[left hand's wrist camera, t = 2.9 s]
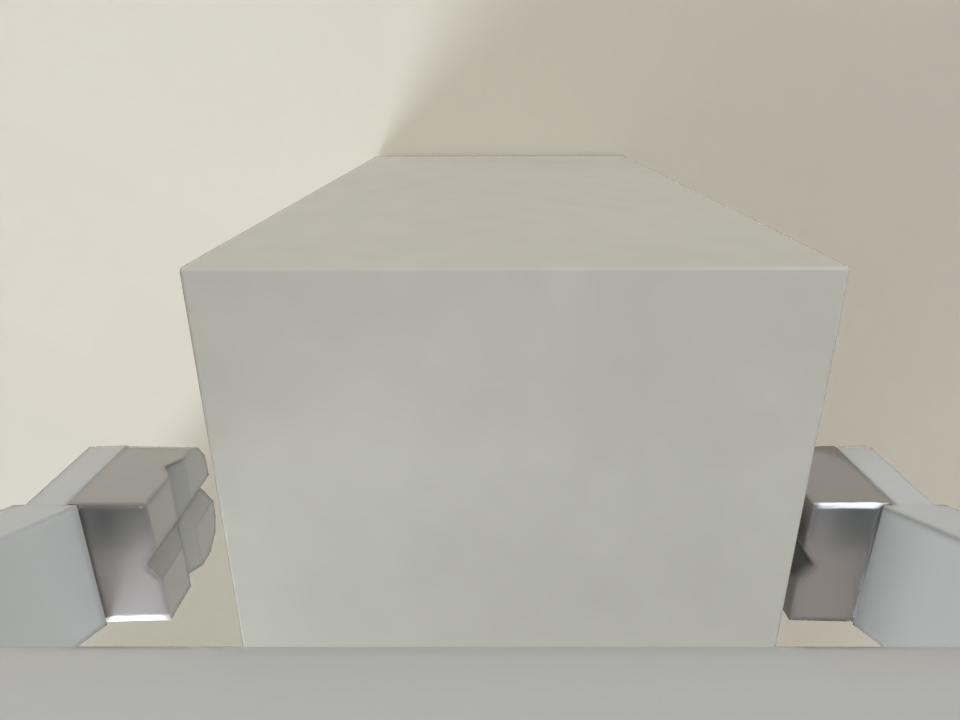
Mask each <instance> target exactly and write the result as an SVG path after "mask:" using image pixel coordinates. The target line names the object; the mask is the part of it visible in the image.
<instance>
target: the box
mask: <svg viewBox="0 0 960 720" xmlns="http://www.w3.org/2000/svg"><path fill="white" fill-rule="evenodd" d="M180 276H181V282H182V288H183V294H184V300H185V305H186V311H187V317H188V323H189V329H190V335H191V341H192V346H193V352H194V358H195V364H196V370H197V376H198V382H199V388H200V393H201V399H202V405H203V411H204V417H205V423H206V429H207V434H208V440H209V446H210V452H211V458H212V464H213V470H214V475H215V481H216V487H217V493H218V499H219V505H220V511H221V516H222V522H223V528H224V534H225V540H226V546H227V552H228V557H229V563H230V569H231V575H232V581H233V587H234V593H235V599H236V604H237V610H238V616H239V622H240V628H241V634H242V640H243V645H244V647H775V646H776V641H777V636H778V631H779V626H780V621H781V616H782V611H783V606H784V600H785V595H786V590H787V585H788V580H789V575H790V570H791V565H792V560H793V555H794V550H795V545H796V540H797V535H798V529H799V524H800V519H801V514H802V509H803V504H804V499H805V494H806V489H807V484H808V479H809V474H810V469H811V464H812V458H813V453H814V448H815V443H816V438H817V433H818V428H819V423H820V418H821V413H822V408H823V403H824V398H825V393H826V387H827V382H828V377H829V372H830V367H831V362H832V357H833V352H834V347H835V342H836V337H837V332H838V327H839V322H840V316H841V311H842V306H843V301H844V296H845V291H846V286H847V281H848V276H849V267H848V266H846V265H844V264H842V263H840V262H838V261H836V260H834V259H832V258H830V257H828V256H826V255H824V254H822V253H820V252H818V251H816V250H814V249H812V248H810V247H808V246H806V245H804V244H802V243H800V242H797V241H795V240H793V239H791V238H789V237H787V236H785V235H783V234H781V233H779V232H777V231H775V230H773V229H771V228H769V227H767V226H765V225H763V224H761V223H759V222H757V221H755V220H753V219H751V218H749V217H747V216H745V215H743V214H740V213H738V212H736V211H734V210H732V209H730V208H728V207H726V206H724V205H722V204H720V203H718V202H716V201H714V200H712V199H710V198H708V197H706V196H704V195H702V194H700V193H698V192H696V191H694V190H692V189H690V188H688V187H686V186H683V185H681V184H679V183H677V182H675V181H673V180H671V179H669V178H667V177H665V176H663V175H661V174H659V173H657V172H655V171H653V170H651V169H649V168H647V167H645V166H643V165H641V164H639V163H637V162H635V161H633V160H631V159H629V158H626V157H624V156H406V157H375V158H373V159H371V160H369V161H368V162H366V163H364V164H362V165H361V166H359V167H357V168H355V169H354V170H352V171H350V172H348V173H346V174H345V175H343V176H341V177H339V178H338V179H336V180H334V181H332V182H331V183H329V184H327V185H325V186H324V187H322V188H320V189H318V190H317V191H315V192H313V193H311V194H310V195H308V196H306V197H304V198H302V199H301V200H299V201H297V202H295V203H294V204H292V205H290V206H288V207H287V208H285V209H283V210H281V211H280V212H278V213H276V214H274V215H273V216H271V217H269V218H267V219H265V220H264V221H262V222H260V223H258V224H257V225H255V226H253V227H251V228H250V229H248V230H246V231H244V232H243V233H241V234H239V235H237V236H236V237H234V238H232V239H230V240H229V241H227V242H225V243H223V244H221V245H220V246H218V247H216V248H214V249H213V250H211V251H209V252H207V253H206V254H204V255H202V256H200V257H199V258H197V259H195V260H193V261H192V262H190V263H188V264H186V265H185V266H183V267H181V269H180Z"/></svg>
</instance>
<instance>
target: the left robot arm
mask: <svg viewBox="0 0 960 720" xmlns="http://www.w3.org/2000/svg"><path fill="white" fill-rule="evenodd" d="M208 475H209V474H208V470H207V465H206V460H205V455H204V454H203V453H202V452H201V450H200V449H199V448H193V447H138V446H132V447H129V446H98V447H89V448H88V449H87V450H86V451H85V452H84V453H82V454H81V455H80V456H79V457H78V458H77V459H76V460H75V461H74V462H72V463H71V464H70V465H69V466H68V467H67V468H66V469H65V470H64V471H63V472H61V473H60V474H59V475H58V476H57V477H56V478H55V479H54V480H53V481H51V482H50V483H49V484H48V485H47V486H46V487H45V488H44V489H43V490H42V491H40V492H39V493H38V494H37V495H36V496H35V497H34V498H33V499H32V500H30V501H29V502H28V503H27V504H26V505H13V506H11V507H8V508H6V509H3V510H1V511H0V720H960V511H959V510H957V509H954V508H952V507H949V506H947V505H934V504H933V503H932V502H931V501H930V500H928V499H927V498H926V497H925V496H924V495H923V494H922V493H921V492H920V491H919V490H917V489H916V488H915V487H914V486H913V485H912V484H911V483H910V482H909V481H908V480H906V479H905V478H904V477H903V476H902V475H901V474H900V473H899V472H898V471H897V470H895V469H894V468H893V467H892V466H891V465H890V464H889V463H888V462H887V461H886V460H884V459H883V458H882V457H881V456H880V455H879V454H878V453H877V452H876V451H875V450H873V449H872V448H870V447H866V446H863V445H862V446H839V447H834V446H822V447H815V448H814V453H813V458H812V464H811V469H810V474H809V479H808V484H807V489H806V494H805V499H804V504H803V509H802V514H801V519H800V524H799V529H798V535H797V540H796V545H795V550H794V555H793V560H792V565H791V570H790V575H789V580H788V585H787V590H786V595H785V600H784V606H783V610H784V612H785V613H786V615H787V617H788V619H789V620H816V621H853V625H855V626H856V627H857V628H859V629H860V630H861V631H863V632H864V633H865V634H867V635H868V636H869V637H871V638H872V639H873V640H875V641H876V642H877V643H879V644H880V645H881V646H883V647H77V646H79V645H80V644H81V643H83V642H84V641H85V640H87V639H88V638H90V637H91V636H92V635H94V634H95V633H96V632H98V631H99V630H100V629H102V628H103V627H104V626H106V625H107V621H143V620H171V619H172V617H173V615H174V614H175V612H176V610H177V608H178V607H179V605H180V603H181V602H182V600H183V598H184V597H185V595H186V593H187V592H188V590H189V588H190V586H191V584H190V579H189V573H190V572H192V571H194V570H195V569H197V568H198V567H200V566H202V565H203V564H204V562H205V560H206V558H207V557H208V555H209V553H210V551H211V547H212V543H213V539H214V535H215V510H214V504H213V500H212V499H211V498H210V497H209V496H208V495H207V494H206V493H205V492H204V491H203V490H202V489H201V488H200V487H201V486H202V484H203V483H204V481H205V480H206V478H207V476H208Z"/></svg>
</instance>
